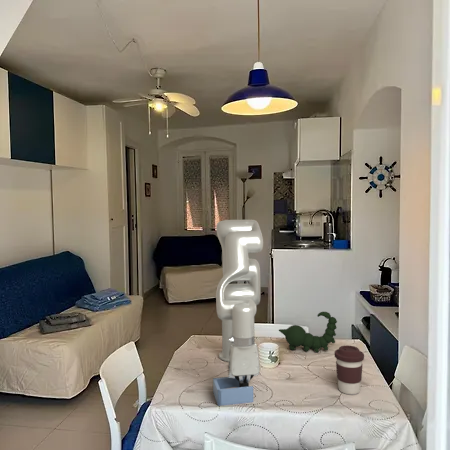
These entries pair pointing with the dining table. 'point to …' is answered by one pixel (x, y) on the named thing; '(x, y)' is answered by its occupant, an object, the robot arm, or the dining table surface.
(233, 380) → the box
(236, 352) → the robot arm
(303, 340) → the toy figurine
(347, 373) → the coffee cup
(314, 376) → the dining table surface
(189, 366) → the dining table surface
